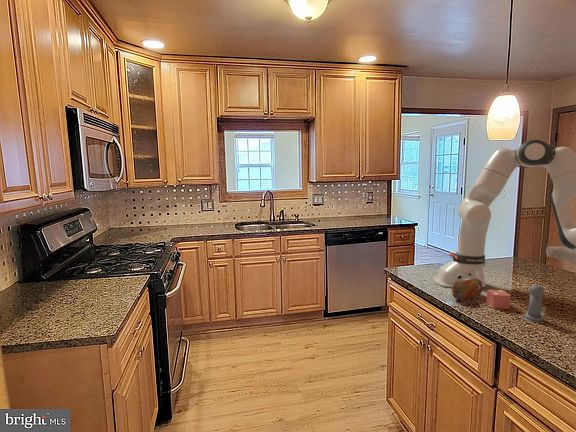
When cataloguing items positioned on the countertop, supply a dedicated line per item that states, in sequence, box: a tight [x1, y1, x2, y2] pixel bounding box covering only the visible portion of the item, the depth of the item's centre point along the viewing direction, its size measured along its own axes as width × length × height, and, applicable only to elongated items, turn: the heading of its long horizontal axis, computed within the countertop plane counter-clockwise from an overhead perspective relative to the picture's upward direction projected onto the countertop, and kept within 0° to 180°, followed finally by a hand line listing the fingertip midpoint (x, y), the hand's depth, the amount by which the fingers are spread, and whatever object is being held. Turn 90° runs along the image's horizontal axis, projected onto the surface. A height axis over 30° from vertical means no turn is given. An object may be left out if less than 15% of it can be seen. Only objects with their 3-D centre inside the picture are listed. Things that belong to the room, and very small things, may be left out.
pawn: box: [524, 284, 545, 323], centre depth 123 cm, size 5×5×12 cm
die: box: [485, 289, 512, 310], centre depth 135 cm, size 6×6×6 cm
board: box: [524, 306, 547, 324], centre depth 128 cm, size 19×12×1 cm, turn 141°
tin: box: [451, 278, 483, 302], centre depth 145 cm, size 15×3×8 cm, turn 114°
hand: (561, 257), depth 131 cm, fingers open, 8 cm apart
